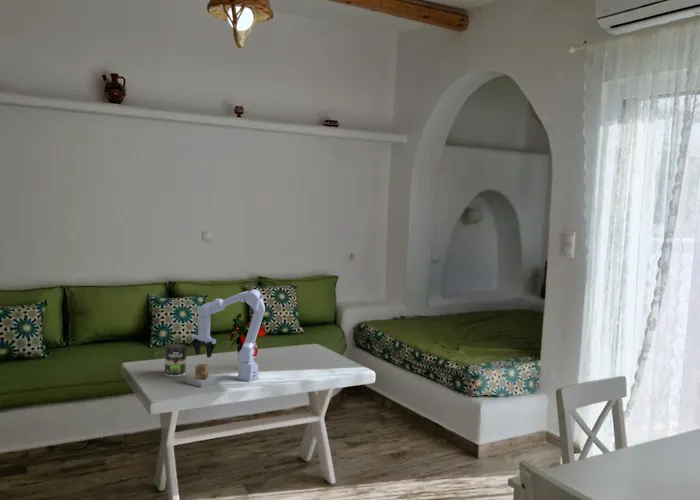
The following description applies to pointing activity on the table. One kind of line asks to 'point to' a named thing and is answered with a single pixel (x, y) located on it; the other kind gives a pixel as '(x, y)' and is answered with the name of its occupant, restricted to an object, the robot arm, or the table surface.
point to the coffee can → (175, 360)
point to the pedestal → (201, 381)
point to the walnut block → (201, 371)
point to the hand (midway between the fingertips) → (203, 355)
